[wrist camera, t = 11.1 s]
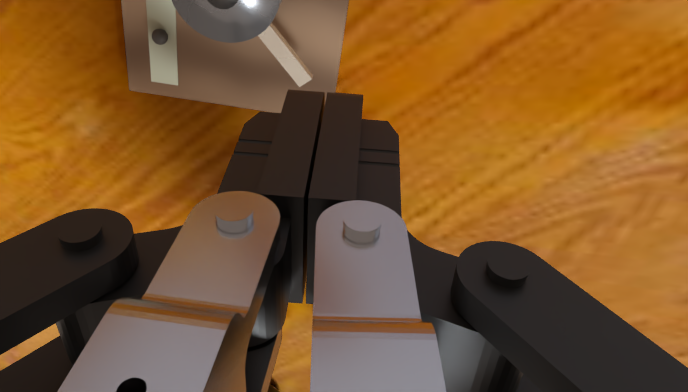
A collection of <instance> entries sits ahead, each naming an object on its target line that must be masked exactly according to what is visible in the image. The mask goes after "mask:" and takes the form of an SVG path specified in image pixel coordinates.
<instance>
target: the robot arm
mask: <svg viewBox="0 0 688 392" xmlns="http://www.w3.org/2000/svg"><path fill="white" fill-rule="evenodd" d="M362 105H363V95H359V94H345V93H332V92H327V96H326V102H325V92H317V91H304V90H291V89H288V91H287V94H286V98H285V101H284V104H283V107H282V111H281V113H272V112H259V113H258V114H257V115H255V116H254V117H253V118H252V119H250V120H249V121H248V122H246V123H245V124H244V127H243V129H242V132H241V135H240V137H239V142H237V145H236V147H235V150H234V155H232V157H231V160H230V162H229V165H228V168H227V170H226V173H225V175H224V178H223V180H222V183H221V185H220V188H219V190H218V193H217V194H215V195H213V196H210V197H208V198H206V199H204V200H203V201H201V202H200V203H198V204H197V205H196V206H195V207H194V208H193V210H192V211H191V212H190V214H189V216H188V218H187V220H186V221H185V223H184V225H182V226H179V227H175V228H170V229H165V230H158V231H151V232H144V233H137V234H134V233H133V228H132V225H131V223H130V221H129V220H128V219H127V218H126V217H125V216H123V215H122V214H120V213H118V212H115V211H112V210H108V209H82V210H77V211H73V212H69V213H66V214H64V215H61V216H59V217H56V218H54V219H52V220H50V221H48V222H45V223H43V224H41V225H39V226H37V227H35V228H32V229H30V230H28V231H26V232H24V233H21V234H19V235H17V236H15V237H13V238H11V239H8V240H6V241H4V242H2V243H0V355H1V354H3V353H4V352H6V351H8V350H10V349H11V348H13V347H15V346H17V345H18V344H20V343H22V342H23V341H25V340H27V339H29V338H30V337H32V336H34V335H36V334H37V333H39V332H41V331H43V330H44V329H46V328H48V327H50V326H51V325H53V324H55V323H56V325H57V328H58V330H59V333H60V336H59V337H57V338H55V339H54V340H52V341H50V342H49V343H47V344H45V345H43V346H42V347H40V348H38V349H37V350H35V351H33V352H32V353H30V354H28V355H27V356H25V357H23V358H22V359H20V360H18V361H16V362H15V363H13V364H11V365H10V366H8V367H6V368H5V369H3V370H1V371H0V392H267V391H268V388H269V384H270V381H271V377H272V373H273V370H274V366H275V363H276V359H277V355H278V352H279V348H280V345H281V340H282V326H283V324H284V321H285V318H286V312H287V307H288V302H291V303H302V302H303V295H304V289H305V282H306V276H307V282H306V304H313V325H312V354H311V382H310V392H688V368H687V367H686V366H684V365H683V364H682V363H680V362H679V361H678V360H676V359H675V358H674V357H672V356H671V355H670V354H668V353H667V352H666V351H664V350H663V349H662V348H660V347H659V346H658V345H656V344H655V343H654V342H652V341H651V340H650V339H648V338H647V337H646V336H644V335H643V334H642V333H640V332H639V331H638V330H636V329H635V328H634V327H632V326H631V325H630V324H628V323H627V322H626V321H624V320H623V319H622V318H620V317H619V316H618V315H616V314H615V313H613V312H612V311H611V310H609V309H608V308H607V307H605V306H604V305H603V304H601V303H600V302H599V301H597V300H596V299H595V298H593V297H592V296H591V295H589V294H588V293H587V292H585V291H584V290H583V289H581V288H580V287H579V286H577V285H576V284H575V283H573V282H572V281H571V280H569V279H568V278H567V277H565V276H564V275H563V274H561V273H560V272H559V271H557V270H556V269H555V268H553V267H552V266H551V265H549V264H548V263H547V262H545V261H544V260H543V259H541V258H540V257H539V256H537V255H536V254H534V253H533V252H531V251H529V250H527V249H525V248H523V247H520V246H518V245H514V244H511V243H506V242H500V241H487V242H481V243H477V244H474V245H471V246H470V247H468V248H466V249H465V250H464V251H463V252H462V253H461V254H460V256H459V257H457V256H453V255H450V254H447V253H444V252H441V251H438V250H435V249H433V248H430V247H428V246H426V245H424V244H423V243H421V242H420V241H418V240H417V239H416V238H414V237H413V236H412V235H411V234H410V233H409V232H408V230H407V228H406V225H405V223H404V221H403V219H402V216H401V192H400V167H399V164H400V162H399V135H398V134H397V133H396V131H395V130H394V129H393V128H392V126H391V125H390V124H389V122H388V121H379V120H366V119H362Z"/></svg>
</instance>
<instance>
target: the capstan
mask: <svg viewBox="0 0 688 392" xmlns="http://www.w3.org/2000/svg"><path fill="white" fill-rule="evenodd" d="M281 2H282V0H172V3H173V5H174V7H175V8H176V10H177V12H178V13H179V15H180V16H181V17H182V18H183V20H184V21H185V22H186V23H187V24H188V25H189V26H190V27H192V28H193V29H194V30H195V31H197V32H198V33H200V34H202V35H204V36H205V37H207V38H210V39H213V40H216V41H220V42H227V43H237V42H243V41H247V40H250V39H252V38H254V37H256V36H258V37H259V38H260V39H261V40H262V42H263V43H264V44H265V45H266V46H267V48H268V49H269V50H270V51H271V53H272V54H273V55H274V56H275V58H276V59H277V60H278V61H279V63H280V64H281V65H282V66H283V67H284V69H285V70H286V71H287V72H288V74H289V75H290V76H291V77H292V79H293V80H294V81H295V82H296V84H297V85H298V86H299V87H301V86H302V85H304V84H305V83H307V82H308V81H310V80H311V79H312V77H313V74H312V73H311V72H310V71H309V69H308V68H307V67H306V65H305V64H304V63H303V62H302V60H301V59H300V58H299V57H298V55H297V54H296V53H295V51H294V50H293V49H292V48H291V46H290V45H289V44H288V42H287V41H286V40H285V39H284V37H283V36H282V35H281V34H280V32H279V31H278V30H277V28H276V27H275V26H274V25H273V23H272V21H273V20H274V18H275V16H276V14H277V11H278V9H279V7H280V5H281Z"/></svg>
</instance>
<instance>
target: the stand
mask: <svg viewBox="0 0 688 392" xmlns="http://www.w3.org/2000/svg"><path fill="white" fill-rule="evenodd" d="M348 2H349V0H282V2H281V5H280V7H279V9H278V11H277V14H276V16H275V18H274V20H273V21H272V23H273V25H274V26H275V27H276V28H277V30H278V31H279V32H280V34H281V35H282V36H283V37H284V39H285V40H286V41H287V42H288V44H289V45H290V46H291V48H292V49H293V50H294V51H295V53H296V54H297V55H298V57H299V58H300V59H301V60H302V62H303V63H304V64H305V65H306V67H307V68H308V69H309V71H310V72H311V73H312V74H313V77H312V79H311V80H310V81H308V82H307V83H305V84H304V85H302V86H301V87H299V86H298V85H297V84H296V82H295V81H294V80H293V79H292V77H291V76H290V75H289V74H288V72H287V71H286V70H285V69H284V67H283V66H282V65H281V64H280V63H279V61H278V60H277V59H276V58H275V56H274V55H273V54H272V53H271V51H270V50H269V49H268V48H267V46H266V45H265V44H264V43H263V42H262V40H261V39H260V38H259V37H258V36H256V37H254V38H252V39H250V40H247V41H243V42H237V43H227V42H220V41H216V40H213V39H210V38H207V37H205V36H204V35H202V34H200V33H198V32H197V31H195V30H194V29H193V28H192V27H190V26H189V25H188V24H187V23H186V22H185V21H184V20H183V18H182V17H181V16H180V15H179V13H178V12H177V10H176V8H175V7H174V5H173V3H172V0H121V5H122V16H123V27H124V38H125V49H126V60H127V70H128V81H129V90H130V91H136V92H143V93H149V94H156V95H162V96H169V97H175V98H182V99H188V100H195V101H201V102H208V103H214V104H221V105H227V106H234V107H240V108H247V109H253V110H260V111H266V112H273V113H281V111H282V107H283V104H284V101H285V98H286V94H287V91H288V89H291V90H304V91H317V92H325V102H326V96H327V92H332V93H335V91H336V84H337V77H338V71H339V64H340V57H341V50H342V43H343V36H344V30H345V23H346V16H347V9H348Z"/></svg>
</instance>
